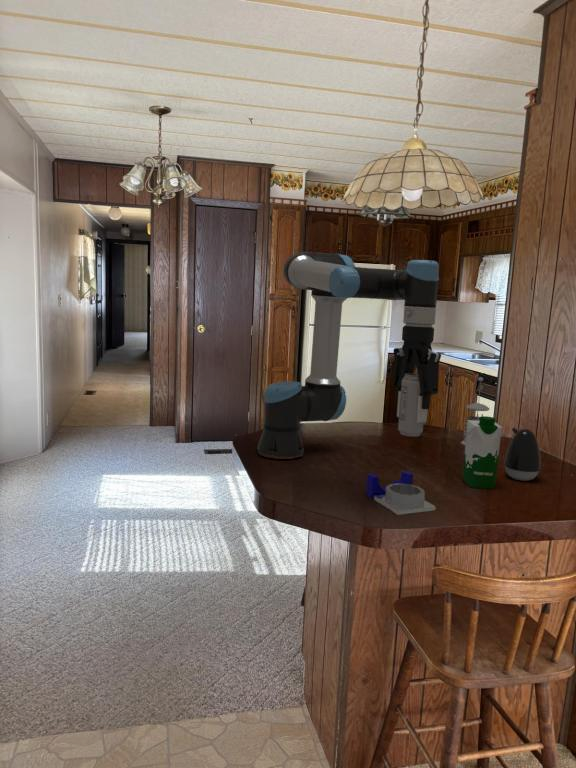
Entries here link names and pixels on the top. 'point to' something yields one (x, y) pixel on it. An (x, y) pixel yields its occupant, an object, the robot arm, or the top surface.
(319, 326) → the robot arm
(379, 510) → the top surface
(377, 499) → the plate
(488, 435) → the milk carton
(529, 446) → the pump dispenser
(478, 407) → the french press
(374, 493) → the blue u-shaped piece
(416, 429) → the energy drink can
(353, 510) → the top surface
